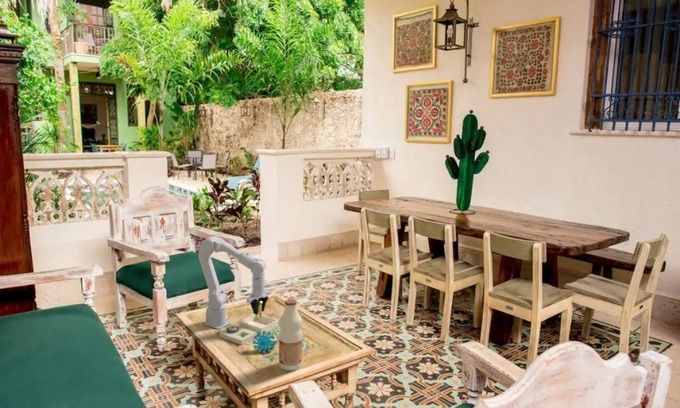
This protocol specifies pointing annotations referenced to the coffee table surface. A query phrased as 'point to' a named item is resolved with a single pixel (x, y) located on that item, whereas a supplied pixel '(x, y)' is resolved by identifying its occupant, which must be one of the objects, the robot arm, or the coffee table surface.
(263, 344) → the gear
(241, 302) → the coffee table surface
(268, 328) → the tray
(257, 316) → the pin
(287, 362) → the fruit juice
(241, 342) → the block
